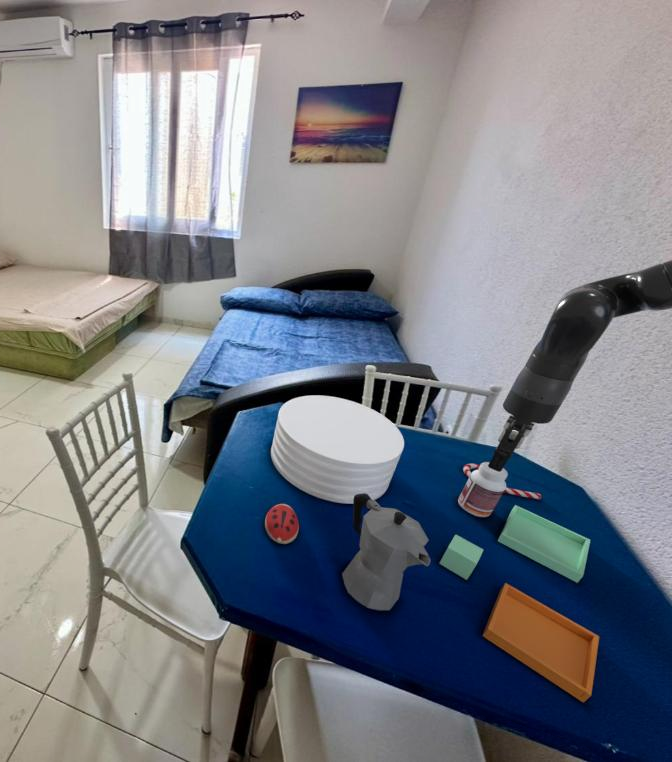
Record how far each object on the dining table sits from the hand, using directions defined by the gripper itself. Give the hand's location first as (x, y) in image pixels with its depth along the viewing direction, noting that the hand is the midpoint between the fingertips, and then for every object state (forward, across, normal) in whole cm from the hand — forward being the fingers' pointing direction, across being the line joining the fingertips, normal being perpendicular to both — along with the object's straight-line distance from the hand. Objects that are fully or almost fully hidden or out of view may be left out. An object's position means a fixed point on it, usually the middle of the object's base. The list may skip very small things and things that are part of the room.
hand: (499, 460), depth 84 cm
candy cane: (+14, +14, -2) cm, 20 cm away
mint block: (+14, -20, -2) cm, 24 cm away
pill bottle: (+14, 0, 0) cm, 14 cm away
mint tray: (+13, -1, -12) cm, 18 cm away
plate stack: (+14, -11, +29) cm, 34 cm away
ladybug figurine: (+14, -38, +25) cm, 47 cm away
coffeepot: (+14, -37, +8) cm, 40 cm away
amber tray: (+14, -26, -15) cm, 33 cm away
